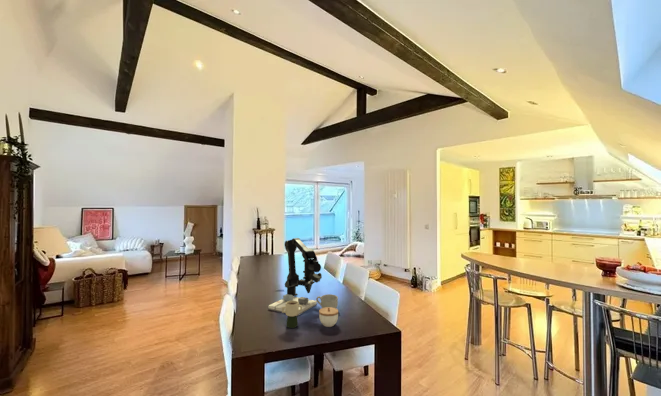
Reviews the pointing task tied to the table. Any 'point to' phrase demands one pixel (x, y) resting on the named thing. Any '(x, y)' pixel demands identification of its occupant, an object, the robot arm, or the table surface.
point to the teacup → (328, 301)
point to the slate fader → (287, 297)
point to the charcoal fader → (303, 300)
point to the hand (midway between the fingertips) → (308, 293)
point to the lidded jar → (328, 316)
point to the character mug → (292, 313)
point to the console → (281, 303)
